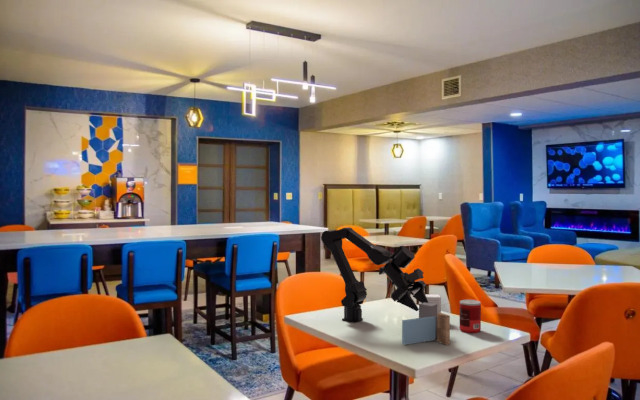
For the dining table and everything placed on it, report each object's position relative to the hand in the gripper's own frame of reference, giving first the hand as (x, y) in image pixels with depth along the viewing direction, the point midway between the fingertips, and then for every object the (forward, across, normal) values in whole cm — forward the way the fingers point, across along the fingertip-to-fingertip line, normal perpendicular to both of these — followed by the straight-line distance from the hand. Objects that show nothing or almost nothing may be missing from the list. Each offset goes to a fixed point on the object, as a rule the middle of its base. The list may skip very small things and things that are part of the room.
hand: (423, 308), depth 184 cm
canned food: (+16, +14, -2) cm, 21 cm away
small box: (+3, +18, +11) cm, 21 cm away
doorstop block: (+8, 0, +5) cm, 9 cm away
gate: (+10, -12, +3) cm, 16 cm away
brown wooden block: (+14, -8, -1) cm, 16 cm away
